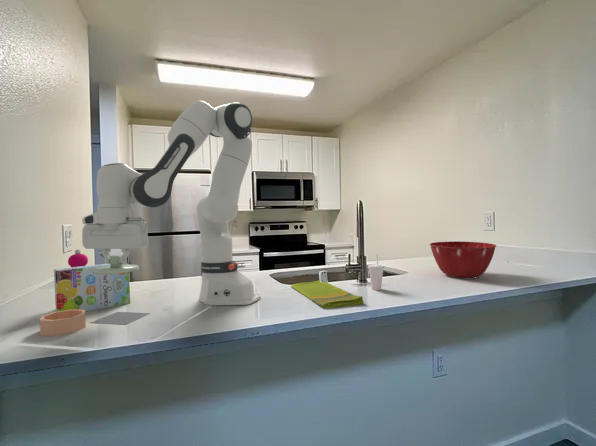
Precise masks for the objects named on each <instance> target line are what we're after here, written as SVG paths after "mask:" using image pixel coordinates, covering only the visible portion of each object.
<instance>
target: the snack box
mask: <svg viewBox="0 0 596 446" xmlns="http://www.w3.org/2000/svg"><path fill="white" fill-rule="evenodd" d="M126 264H129V262H127V263H126ZM122 265H125V264H122ZM103 266H110V264H106V263H101V264H89V265H86V266H80V267H71V266H70V267H63V268H62V267H61V268H54V269H53V278H54V279H53V280H54V300H55V312H58V311H65V310H72V309H77V310H85V312H86V311H93V310H98V309H105V308H111V307H115V306H116V307H117V306H123V305H129V304H131V291H130V290H131V287H130V272H127V273H119V274H94V273H93V269H95V268H98V267H103Z"/></svg>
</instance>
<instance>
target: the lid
mask: <svg viewBox="0 0 596 446" xmlns="http://www.w3.org/2000/svg"><path fill="white" fill-rule="evenodd" d="M121 257H122V254H120V255H119V254H117V255H111V256H110V266H103V267H98V268H95V269H93V273H94V274H119V273H127V272H129V273H131V272H132V273H133V272H135V271H139V269H140V266H139V264H125V265H122V264H119V258H121Z"/></svg>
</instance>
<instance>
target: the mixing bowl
mask: <svg viewBox="0 0 596 446" xmlns="http://www.w3.org/2000/svg"><path fill="white" fill-rule="evenodd" d="M429 246H430V248H431V253H432V254H433V255H432V256H433V258H434V260H435V263H436V264H437V266H438V268H439V270H440V271H441V272H442V274H445V275H446V276H448V277H450V278H454V277H455V278H456V279H465V278H471V279H476V278H475V277H477V278H479V277H481V275H484V273H485V272H486V271H487V269H488V267H489V266H490V264H491V261H492V259H493V257H494V255H495V249H496V247H497V245H496V244H494V243H489V242H480V241H479V242H477V241H459V240H458V241H456V240H455V241H453V240H452V241H450V240H449V241H436V242H431V243H429Z"/></svg>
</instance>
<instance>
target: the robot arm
mask: <svg viewBox="0 0 596 446" xmlns="http://www.w3.org/2000/svg"><path fill="white" fill-rule="evenodd" d="M252 125H253V115H252V112H251V109H250V108H249V107H248V106H247V105H246V104H244V103H240V102H231V103H226V104H222V105H219V106H216V107H212V106H211V105H210V103H207V102H206V101H204V100H196V101H194V102H193V103H191V104H190V105H188V107H186V108H185V109H184V110H183V111H182V113H181V114H180V115H179V116H178V117H176V120H175V121H174V123H173V124H172V126H171V128H170V129H169V132H168V133H167V141H168V144H169V145H168V147H167V149H166V151H165V152H164V154H163V155H162V156H161V158H160V160H159V161H158V162H157V163H156V164H155V166H154V167H153V168H152V169H150V170H148V171H146V172H145V173H141V172H138V171H137V170H134V169H133V168H131V167H130V166H128V165H127V164H126V163H121V162H118V163H109V164H105V165H102V166H101V167H100V168H99V169H98V171H97V175H96V195H97V200H98V203H97V206H96V207H97V208H96V209H97V211H95V212H92V213H91V214H88V215H86V216H83V217H82V224H83V225H84V226H83V227H82V231H81V233H82V234H81V238H82V239H81V242H82V247H84V249H86V250H91V249H92V250H101V255H102V256H103V258H104V259H105V260H104V261H105V263H104V264H110V256H112V255H111V252H112V251H111V250H121V252H120V253H121V255H122V257H121V258H119V264H126V263H128V257H129V255H130V253H131V250H142V249H146V248H147V247H148V246H149V244H150V242H149V234H148V229H147V221H146V220H144V219H143V218H142V217H139V216H138V217H132V205H134V206H138V207H142V208H145V207H146V208H159V207H161V206H163V205H165V204H166V203H168V201H169V200H170V197H171V194H172V190H173V184H174V181H175V179H176V177H177V176H178V174H179V172H180V171H181V170H182V169H183V167H184V165H185V164H186V162H187V160H188V159H189V158H190V157H191V156H193V155H194V154H195V153H196V152H197V151H198V149H200V148H201V147H202V146H203V144H204V142H206V140H207V138H208V136H209V135H210V136H211V137H215V138H222V139H223V140H222V141H223V142H222V144H223V145H222V149H221V150H220V153H219V155H218V156H219V157H218V158H217V161H216V165H215V167H214V169H213V172H212V175H211V178H212V179H211V183H210V189H209V192H208V194H207V195H205V196H203V197H202V198H201V199H200V200H199V201H198V203H197V206H196V214H197V221H198V227H199V233H200V240H201V262H200V274H201V275H200V276H201V283H200V284H201V285H200V292H199V297H198V302H202V303H203V305H208V306H209V305H211V306H247V305H251V304H254V303H255V302H257V301H258V300H260V298H261V294H260V293H257V292H255V288H254V283H253V282H252V280H251V279H250V278H249V277H247V276H246V275H244V274H243V273H241V271H239V270H238V267H239V264H240V262H236V261H234V258H233V257H234V256H233V238H232V236H231V233H230V229H229V223H230V222H232V221H233V220H234V219H235V218H236V216H237V215H238V213H239V205H238V203H239V198H240V191H241V187H242V184H243V180H244V178H245V177H244V176H245V174H246V171H247V168H248V167H249V166H248V165H249V162H250V160H251V155H252V150H253V149H252V148H253V142H252V140H251V139H250V137H249V135H250V134H251V132H252V129H251V128H252Z"/></svg>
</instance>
